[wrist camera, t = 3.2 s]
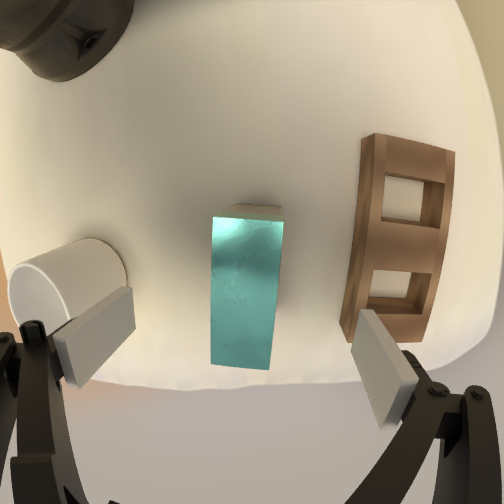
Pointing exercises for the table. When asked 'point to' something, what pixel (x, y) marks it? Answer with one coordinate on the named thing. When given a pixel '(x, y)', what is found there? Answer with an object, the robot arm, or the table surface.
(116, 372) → the table surface
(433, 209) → the brown wooden frame
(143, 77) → the table surface
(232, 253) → the tall teal block
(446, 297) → the table surface
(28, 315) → the mug
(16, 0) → the robot arm
